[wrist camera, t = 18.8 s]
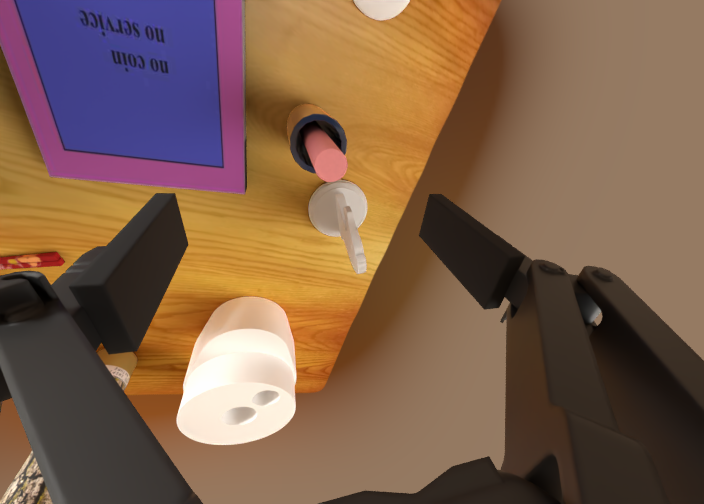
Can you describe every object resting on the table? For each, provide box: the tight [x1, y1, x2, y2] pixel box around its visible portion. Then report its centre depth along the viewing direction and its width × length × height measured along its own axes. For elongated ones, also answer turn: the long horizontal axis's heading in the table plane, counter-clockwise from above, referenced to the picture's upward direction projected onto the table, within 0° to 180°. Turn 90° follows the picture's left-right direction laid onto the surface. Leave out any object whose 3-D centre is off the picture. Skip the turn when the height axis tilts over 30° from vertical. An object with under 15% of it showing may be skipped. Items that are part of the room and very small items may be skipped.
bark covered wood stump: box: [0, 348, 138, 504], centre depth 41 cm, size 7×7×25 cm
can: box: [286, 104, 347, 173], centre depth 34 cm, size 6×6×11 cm
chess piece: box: [308, 180, 367, 274], centre depth 39 cm, size 10×10×15 cm
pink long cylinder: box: [299, 120, 347, 182], centre depth 30 cm, size 3×3×18 cm
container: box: [177, 296, 296, 445], centre depth 52 cm, size 20×25×14 cm
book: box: [0, 0, 247, 194], centre depth 28 cm, size 21×3×30 cm
